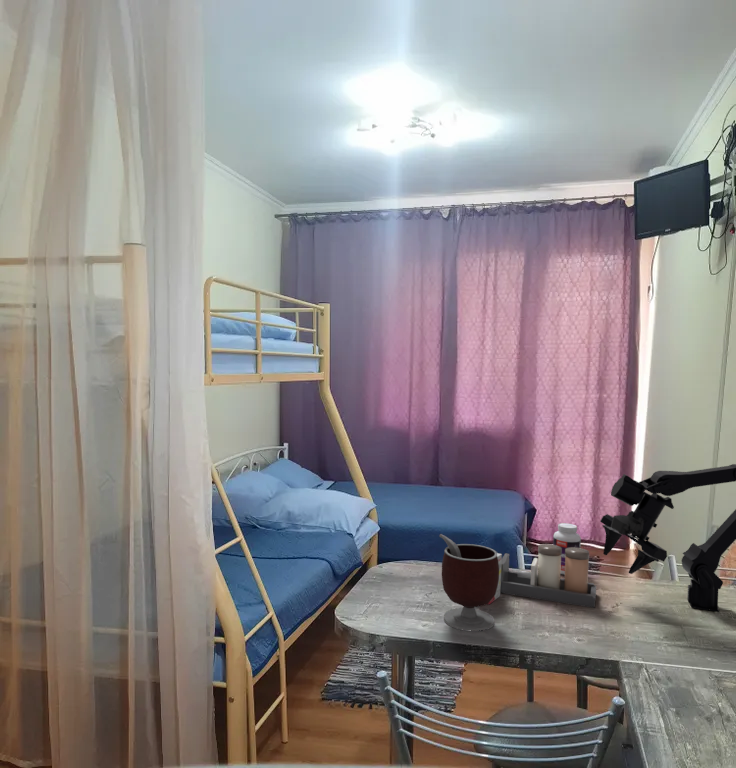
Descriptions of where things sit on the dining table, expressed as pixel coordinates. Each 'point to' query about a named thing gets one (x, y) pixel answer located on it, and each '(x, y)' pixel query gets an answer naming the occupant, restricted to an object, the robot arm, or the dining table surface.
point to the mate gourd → (469, 583)
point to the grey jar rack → (542, 588)
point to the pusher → (530, 573)
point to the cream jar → (549, 566)
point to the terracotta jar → (576, 570)
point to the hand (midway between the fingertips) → (617, 563)
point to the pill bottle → (566, 540)
